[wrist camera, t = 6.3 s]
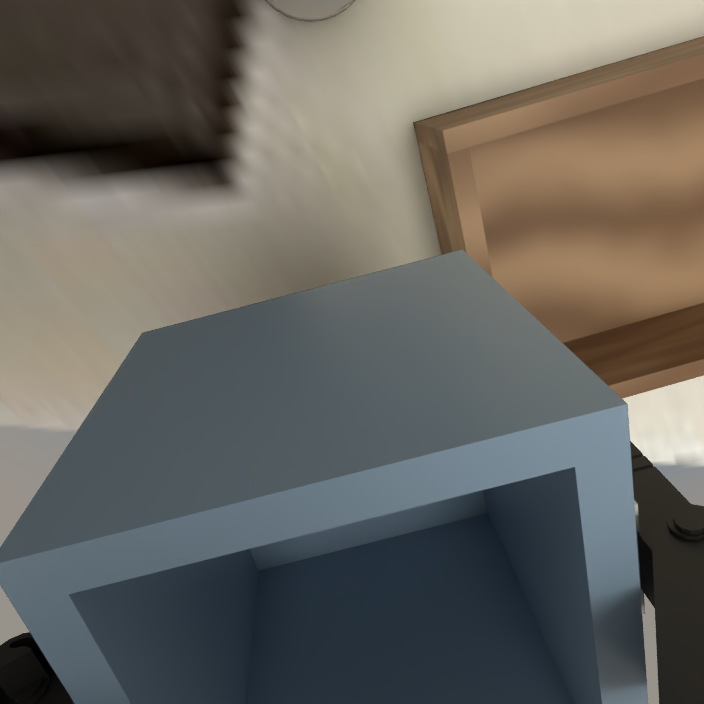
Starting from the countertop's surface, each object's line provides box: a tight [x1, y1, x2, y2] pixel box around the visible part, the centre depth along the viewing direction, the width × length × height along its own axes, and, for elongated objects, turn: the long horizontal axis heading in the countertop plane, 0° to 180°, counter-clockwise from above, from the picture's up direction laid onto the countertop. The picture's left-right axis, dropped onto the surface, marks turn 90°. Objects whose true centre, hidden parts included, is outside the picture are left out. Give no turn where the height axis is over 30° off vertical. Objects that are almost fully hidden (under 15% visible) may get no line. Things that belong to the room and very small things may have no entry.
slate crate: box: [0, 250, 648, 704], centre depth 14 cm, size 9×9×9 cm
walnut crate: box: [413, 36, 704, 398], centre depth 33 cm, size 16×24×7 cm, turn 105°
